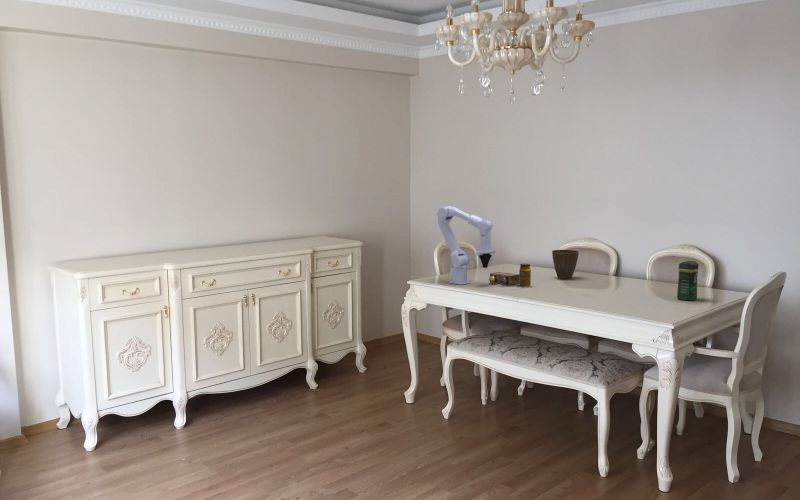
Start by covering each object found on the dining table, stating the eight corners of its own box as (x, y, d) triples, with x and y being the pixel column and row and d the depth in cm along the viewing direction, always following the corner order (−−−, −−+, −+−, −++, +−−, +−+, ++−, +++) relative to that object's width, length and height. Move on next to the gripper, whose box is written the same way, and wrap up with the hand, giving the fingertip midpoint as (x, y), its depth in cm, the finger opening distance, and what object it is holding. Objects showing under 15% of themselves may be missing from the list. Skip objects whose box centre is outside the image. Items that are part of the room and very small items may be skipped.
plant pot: (583, 279, 382) (584, 251, 380) (565, 281, 373) (566, 253, 371) (563, 276, 394) (564, 249, 392) (546, 278, 385) (546, 251, 384)
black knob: (500, 283, 362) (500, 277, 362) (510, 281, 368) (510, 275, 368) (505, 284, 360) (505, 278, 360) (515, 282, 366) (515, 276, 366)
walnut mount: (489, 283, 371) (489, 273, 370) (498, 281, 376) (498, 271, 376) (510, 286, 361) (510, 275, 360) (519, 284, 366) (519, 274, 366)
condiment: (534, 286, 360) (534, 264, 359) (522, 288, 355) (522, 265, 354) (524, 284, 366) (524, 262, 365) (513, 286, 362) (513, 264, 360)
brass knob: (488, 282, 368) (488, 276, 368) (498, 280, 374) (498, 274, 374) (493, 282, 366) (493, 276, 365) (503, 280, 372) (503, 274, 371)
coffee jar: (691, 301, 313) (693, 262, 311) (674, 299, 319) (676, 261, 317) (699, 298, 320) (701, 260, 318) (682, 296, 326) (684, 259, 324)
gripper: (482, 244, 353) (482, 269, 354) (499, 242, 363) (499, 266, 364) (472, 243, 358) (472, 268, 359) (489, 241, 368) (489, 265, 369)
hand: (485, 267), depth 362 cm, fingers closed
